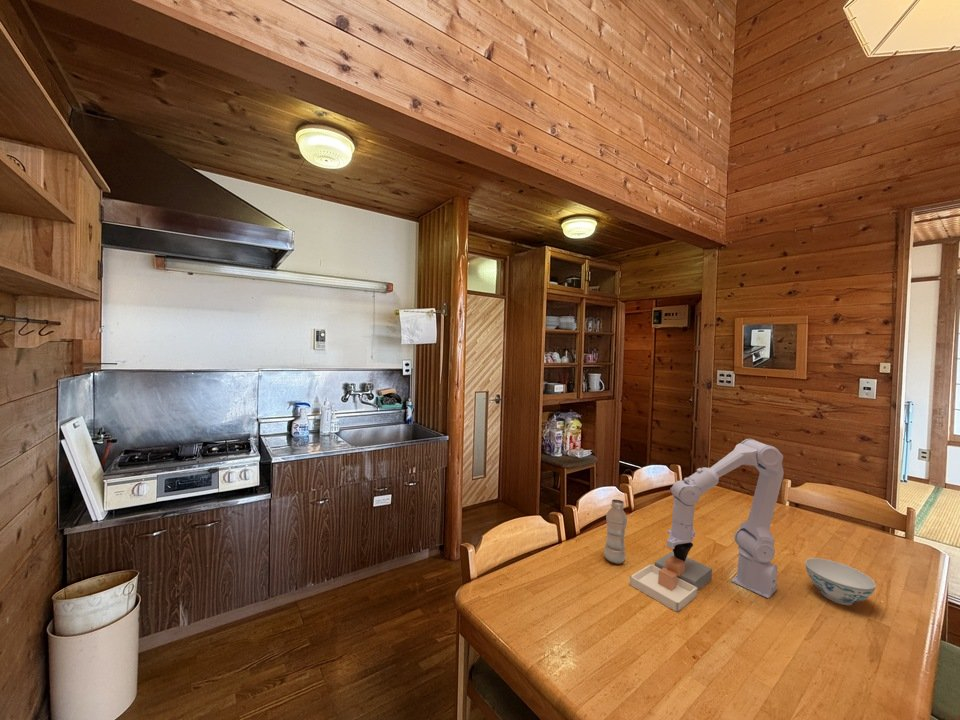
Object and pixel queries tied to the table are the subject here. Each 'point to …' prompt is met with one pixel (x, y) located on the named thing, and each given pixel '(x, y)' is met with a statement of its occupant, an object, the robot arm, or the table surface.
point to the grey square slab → (690, 571)
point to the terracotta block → (667, 579)
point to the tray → (663, 588)
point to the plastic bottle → (615, 532)
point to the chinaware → (839, 581)
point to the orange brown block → (675, 565)
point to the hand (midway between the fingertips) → (679, 564)
